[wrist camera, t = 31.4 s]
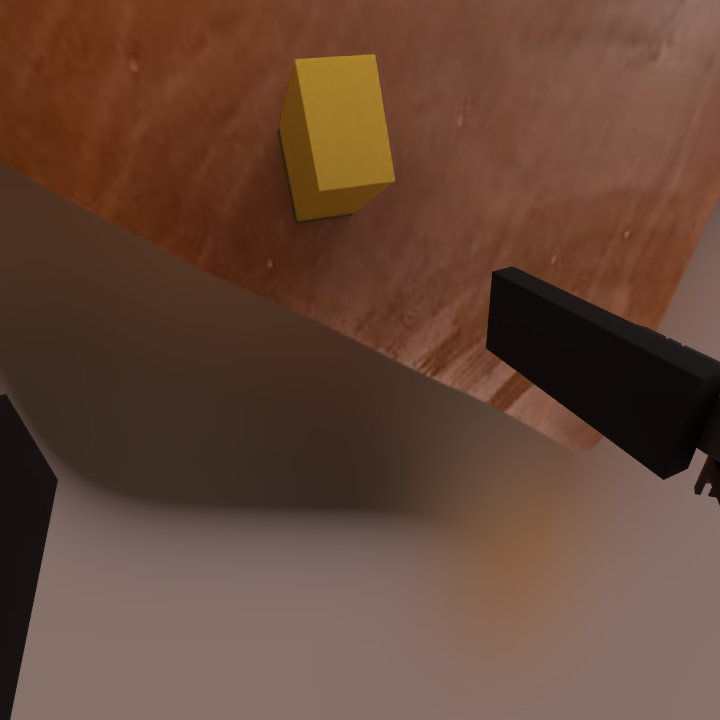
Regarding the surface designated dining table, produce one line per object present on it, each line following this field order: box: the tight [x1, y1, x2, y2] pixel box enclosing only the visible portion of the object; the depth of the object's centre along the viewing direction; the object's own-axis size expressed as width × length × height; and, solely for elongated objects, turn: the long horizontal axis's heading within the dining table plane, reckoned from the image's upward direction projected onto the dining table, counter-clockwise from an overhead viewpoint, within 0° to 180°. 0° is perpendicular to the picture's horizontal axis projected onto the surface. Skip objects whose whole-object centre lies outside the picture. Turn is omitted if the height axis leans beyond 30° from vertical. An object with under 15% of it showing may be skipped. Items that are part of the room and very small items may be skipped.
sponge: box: [278, 54, 395, 223], centre depth 27 cm, size 4×6×9 cm, turn 11°
